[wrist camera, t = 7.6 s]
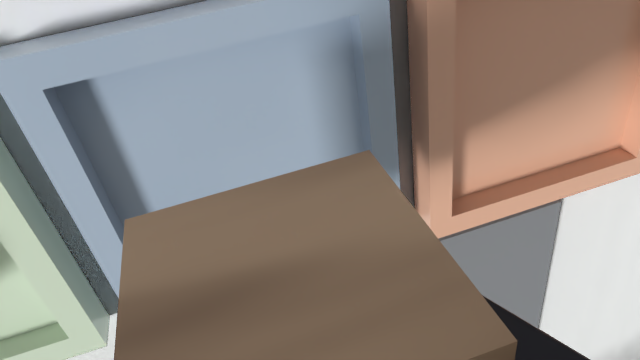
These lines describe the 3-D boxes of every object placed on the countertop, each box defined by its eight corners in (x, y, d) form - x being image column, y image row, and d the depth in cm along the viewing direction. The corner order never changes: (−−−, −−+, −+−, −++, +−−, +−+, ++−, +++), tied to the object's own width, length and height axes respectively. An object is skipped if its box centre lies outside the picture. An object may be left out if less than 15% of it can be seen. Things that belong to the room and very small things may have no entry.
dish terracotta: (624, 154, 19) (649, 169, 18) (415, 220, 18) (430, 241, 17) (693, -108, 14) (734, -107, 13) (405, -44, 12) (426, -37, 11)
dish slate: (390, 228, 17) (403, 249, 16) (140, 307, 16) (139, 335, 15) (368, -36, 12) (387, -28, 11) (-2, 46, 11) (-17, 63, 10)
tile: (530, 336, 24) (535, 343, 24) (363, 398, 23) (366, 406, 23) (554, 195, 19) (561, 201, 19) (341, 264, 18) (344, 272, 17)
